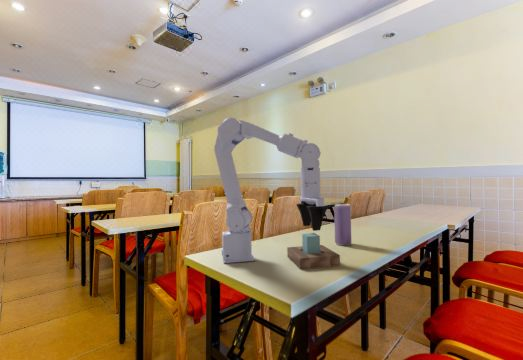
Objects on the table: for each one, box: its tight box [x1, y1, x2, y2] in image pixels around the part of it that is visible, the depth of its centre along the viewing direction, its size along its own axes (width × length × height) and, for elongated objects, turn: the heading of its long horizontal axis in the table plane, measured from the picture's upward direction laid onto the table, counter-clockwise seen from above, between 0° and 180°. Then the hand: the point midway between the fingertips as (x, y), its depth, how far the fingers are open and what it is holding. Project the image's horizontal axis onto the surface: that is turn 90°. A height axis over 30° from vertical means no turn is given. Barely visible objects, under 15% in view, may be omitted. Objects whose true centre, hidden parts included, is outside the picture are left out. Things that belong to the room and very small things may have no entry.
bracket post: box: [301, 232, 321, 255], centre depth 78 cm, size 4×4×8 cm
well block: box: [286, 244, 341, 270], centre depth 78 cm, size 12×12×3 cm
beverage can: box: [333, 203, 352, 247], centre depth 97 cm, size 6×6×15 cm
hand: (311, 227), depth 78 cm, fingers open, 7 cm apart
